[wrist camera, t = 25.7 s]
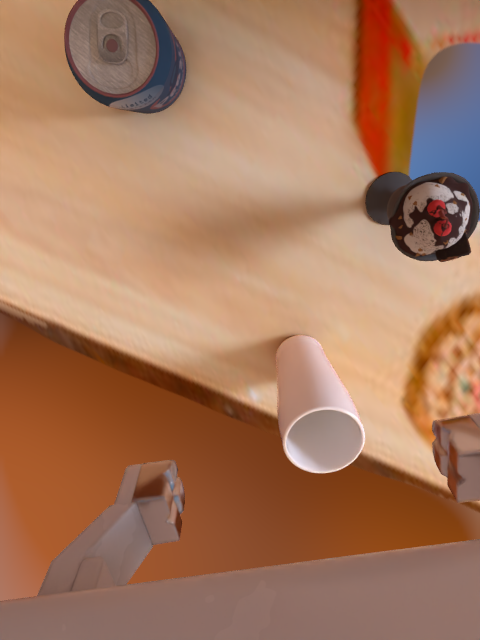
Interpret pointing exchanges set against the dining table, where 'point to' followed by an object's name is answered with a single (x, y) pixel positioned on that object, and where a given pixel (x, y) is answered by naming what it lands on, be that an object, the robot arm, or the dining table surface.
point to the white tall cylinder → (315, 409)
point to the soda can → (124, 54)
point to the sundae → (426, 213)
